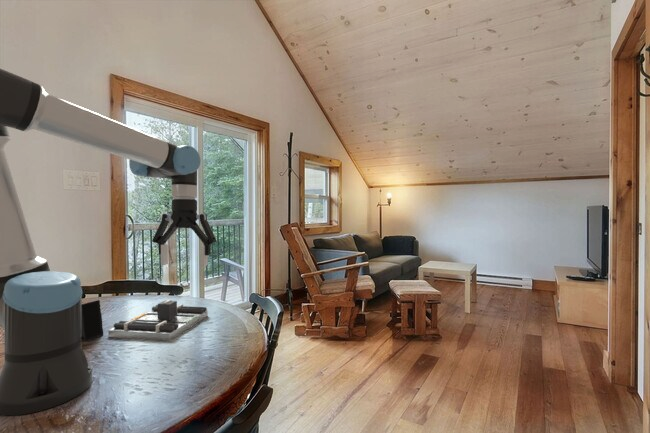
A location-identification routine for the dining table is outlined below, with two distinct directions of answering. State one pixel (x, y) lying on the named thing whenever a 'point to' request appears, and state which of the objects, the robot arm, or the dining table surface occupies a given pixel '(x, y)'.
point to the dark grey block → (167, 310)
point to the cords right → (185, 309)
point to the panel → (182, 319)
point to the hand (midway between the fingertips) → (184, 265)
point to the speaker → (91, 320)
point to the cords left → (146, 325)
